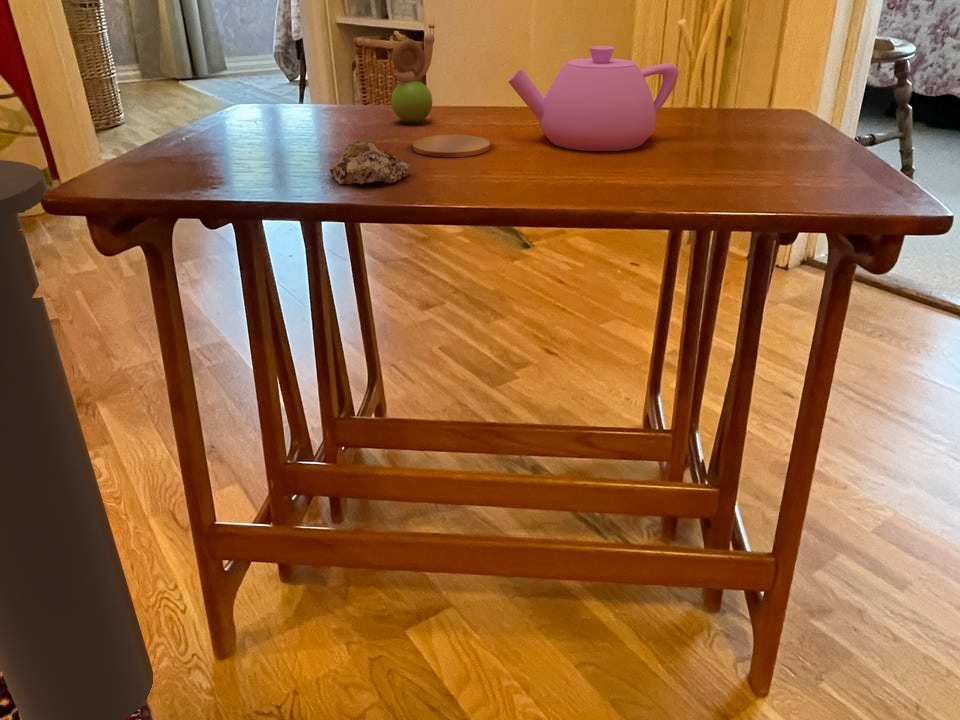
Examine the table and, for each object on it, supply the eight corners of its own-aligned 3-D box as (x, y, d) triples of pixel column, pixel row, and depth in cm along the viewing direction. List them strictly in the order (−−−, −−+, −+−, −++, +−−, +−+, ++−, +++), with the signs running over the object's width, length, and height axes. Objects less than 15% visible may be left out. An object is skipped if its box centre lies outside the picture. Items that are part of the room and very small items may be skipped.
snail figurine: (446, 122, 105) (444, 25, 99) (405, 128, 102) (400, 28, 96) (425, 115, 109) (422, 22, 103) (385, 121, 106) (379, 25, 100)
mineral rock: (421, 161, 77) (340, 143, 74) (411, 204, 79) (331, 188, 76) (402, 141, 86) (329, 125, 84) (393, 180, 88) (322, 165, 85)
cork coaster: (421, 160, 87) (421, 154, 87) (406, 142, 95) (406, 137, 94) (499, 154, 89) (499, 149, 89) (478, 137, 97) (478, 132, 97)
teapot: (504, 129, 101) (505, 40, 96) (658, 127, 101) (667, 39, 96) (510, 154, 89) (511, 54, 84) (685, 152, 89) (697, 53, 84)
